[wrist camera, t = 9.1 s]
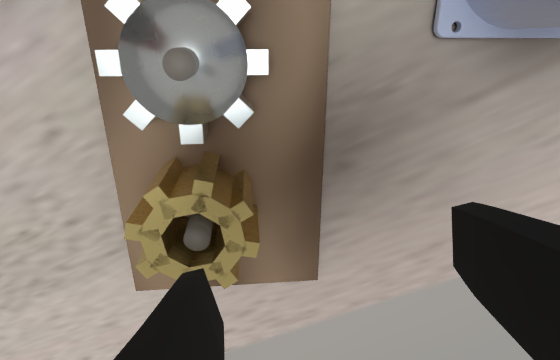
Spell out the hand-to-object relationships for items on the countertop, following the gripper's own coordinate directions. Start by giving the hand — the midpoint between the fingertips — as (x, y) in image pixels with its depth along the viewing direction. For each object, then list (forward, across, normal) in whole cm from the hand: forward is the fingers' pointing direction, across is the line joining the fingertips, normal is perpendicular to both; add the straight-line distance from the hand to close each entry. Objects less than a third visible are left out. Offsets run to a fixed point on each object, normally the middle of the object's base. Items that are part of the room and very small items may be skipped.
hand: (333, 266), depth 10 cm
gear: (+9, +4, -6) cm, 12 cm away
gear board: (+10, +4, -1) cm, 11 cm away
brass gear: (+10, +5, +1) cm, 11 cm away
